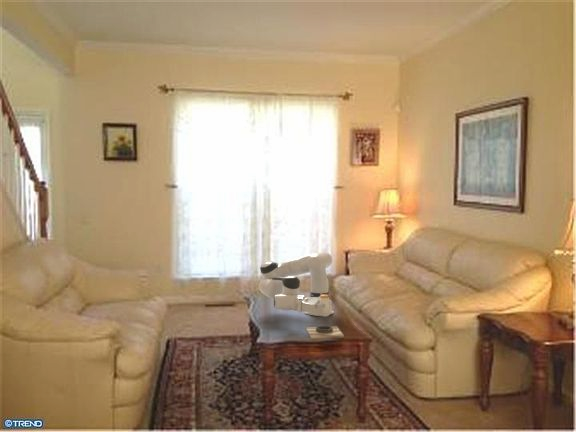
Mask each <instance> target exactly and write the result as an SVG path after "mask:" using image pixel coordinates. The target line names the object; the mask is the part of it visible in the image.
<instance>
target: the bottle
mask: <svg viewBox="0 0 576 432" xmlns="http://www.w3.org/2000/svg"><path fill="white" fill-rule="evenodd" d="M329 299H330V296H329V297H328V295H325V294H323V295H320V304H325V308H320V316H319V317H329Z"/></svg>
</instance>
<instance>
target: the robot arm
mask: <svg viewBox="0 0 576 432" xmlns="http://www.w3.org/2000/svg"><path fill="white" fill-rule="evenodd" d="M332 263H333V257H332V254H330V253H328V252H326V251H321V252H317V253H312V254H306V255H304V256H299V257H296V258H291V259H286V260H285V261H282V262H275V261H271V260H270V261H266V262H264V263H262V265H261V266H260V273H261V275H262V279H261V280H260V281H259V283H258V290H259V291H260V292H261V294H263V295H264V296H266V297H267V298H269V299H270V298H271V299H273V307H274V308H275V309H277V310H282V311H297V313H302V312H304V314H305V315H311V316H317V317H321V316H320V308H325V304H320V295H323V294H325V295H328V297H329V315H332V314H335V311H334V310H333V309H332V300H331V299H330V292H329V278H328V276H327V269H328V268H329V267H330V266H331V265H332ZM305 274H309V275H310V291H309V293H310V294H309V296H308V297H306V295H304V294H300V285H301V283H300V282H301V280H300V279H299V278H298V276H300V275H305Z"/></svg>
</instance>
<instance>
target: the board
mask: <svg viewBox="0 0 576 432" xmlns="http://www.w3.org/2000/svg"><path fill="white" fill-rule="evenodd" d="M305 330H306V331H307V332H306V333H307V334H308V336H309V338H310V340H311V339H313V340H314V339H341V338H343V339H344V337H345V335H344V333H343V332H342V331H341V329H340V328H339V327H338V326H337V325H335V326H332V325H331V326H330V325H318V326H306V327H305Z"/></svg>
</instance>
